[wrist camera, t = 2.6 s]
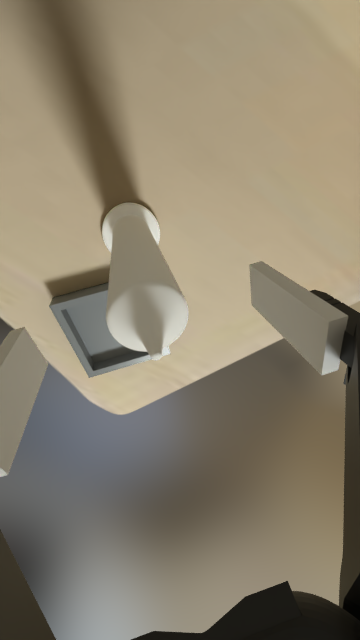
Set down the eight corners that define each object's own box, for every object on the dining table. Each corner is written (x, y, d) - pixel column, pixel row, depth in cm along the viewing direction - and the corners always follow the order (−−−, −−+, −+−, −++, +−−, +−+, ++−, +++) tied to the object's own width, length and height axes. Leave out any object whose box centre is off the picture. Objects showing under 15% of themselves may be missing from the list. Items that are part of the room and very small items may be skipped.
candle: (90, 217, 30) (27, 332, 9) (144, 192, 30) (205, 249, 9) (120, 269, 34) (122, 432, 13) (167, 246, 34) (249, 376, 13)
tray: (53, 297, 34) (49, 306, 32) (147, 272, 35) (148, 278, 33) (90, 367, 41) (89, 377, 39) (167, 344, 42) (170, 353, 40)
